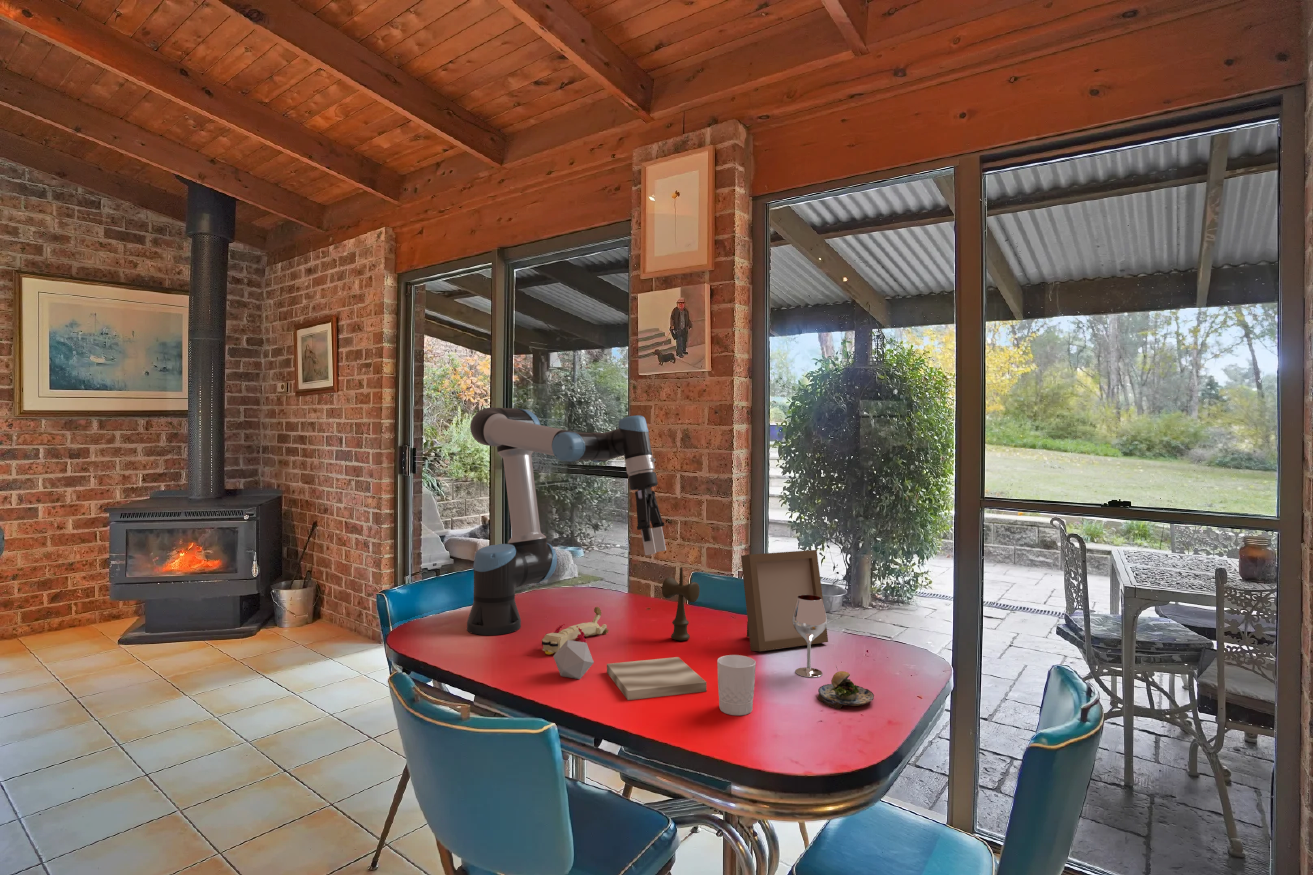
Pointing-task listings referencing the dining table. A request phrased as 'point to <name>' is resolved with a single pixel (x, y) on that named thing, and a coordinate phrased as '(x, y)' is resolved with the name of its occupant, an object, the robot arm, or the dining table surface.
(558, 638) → the cat figure
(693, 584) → the kendama
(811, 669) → the wineglass
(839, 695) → the burger
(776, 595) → the photo frame
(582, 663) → the die
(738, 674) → the white cup
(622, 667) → the birch board
